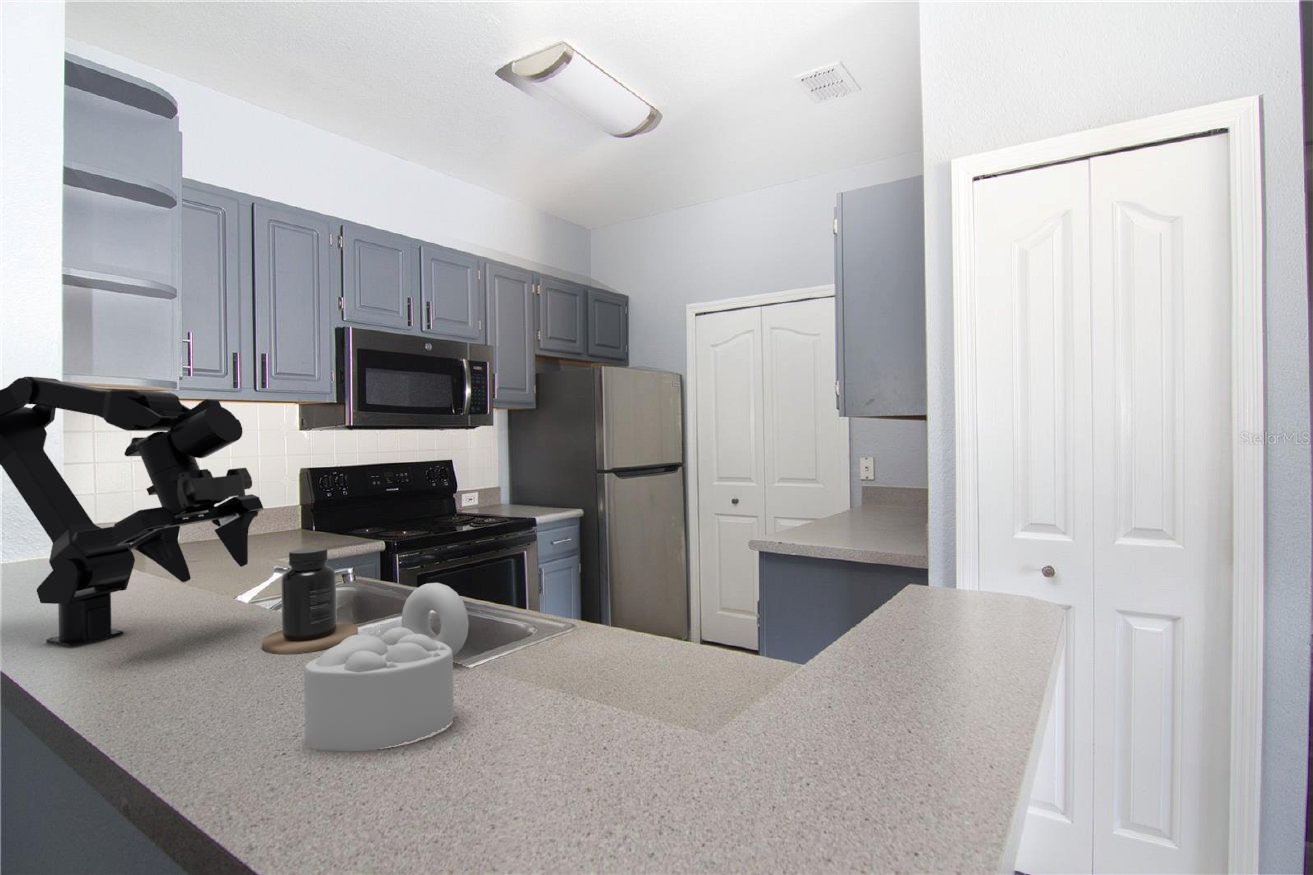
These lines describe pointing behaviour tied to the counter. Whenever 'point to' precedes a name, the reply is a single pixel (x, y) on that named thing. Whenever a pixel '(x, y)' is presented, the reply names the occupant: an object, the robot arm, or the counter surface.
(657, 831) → the counter surface
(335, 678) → the lumpy-topped squat cylinder
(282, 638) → the walnut trivet
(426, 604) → the donut
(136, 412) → the robot arm
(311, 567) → the supplement bottle
